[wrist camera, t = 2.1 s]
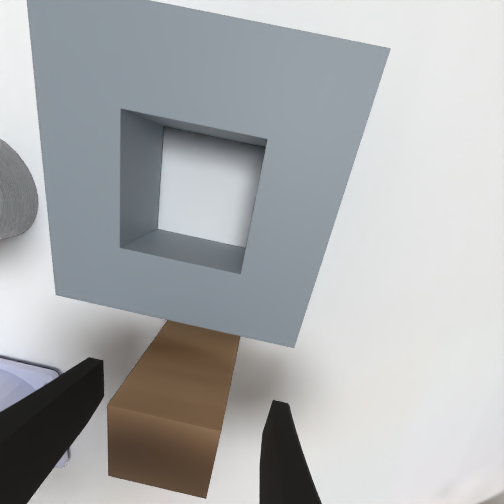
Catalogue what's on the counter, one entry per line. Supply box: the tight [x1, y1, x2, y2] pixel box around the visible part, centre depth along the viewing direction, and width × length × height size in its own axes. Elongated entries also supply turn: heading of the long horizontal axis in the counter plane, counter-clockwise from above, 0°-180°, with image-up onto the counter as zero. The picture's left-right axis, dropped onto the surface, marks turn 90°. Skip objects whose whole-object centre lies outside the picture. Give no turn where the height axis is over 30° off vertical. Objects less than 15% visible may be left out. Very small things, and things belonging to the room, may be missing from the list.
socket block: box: [27, 0, 391, 348], centre depth 9 cm, size 10×10×3 cm
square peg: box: [107, 320, 240, 499], centre depth 11 cm, size 4×4×6 cm
